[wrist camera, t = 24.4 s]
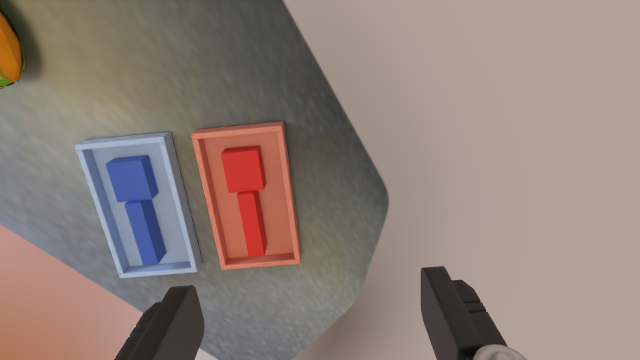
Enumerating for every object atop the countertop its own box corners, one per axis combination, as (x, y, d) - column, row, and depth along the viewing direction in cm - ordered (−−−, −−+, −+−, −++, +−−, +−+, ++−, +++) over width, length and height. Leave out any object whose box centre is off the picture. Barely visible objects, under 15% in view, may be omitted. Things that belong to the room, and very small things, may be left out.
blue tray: (85, 139, 40) (74, 144, 38) (170, 131, 40) (163, 136, 38) (128, 268, 46) (119, 278, 44) (202, 262, 46) (197, 272, 44)
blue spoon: (175, 252, 44) (167, 263, 42) (143, 254, 45) (134, 266, 42) (148, 155, 40) (138, 162, 38) (113, 158, 40) (101, 165, 38)
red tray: (196, 129, 40) (190, 133, 38) (283, 120, 39) (281, 125, 37) (225, 260, 45) (221, 270, 44) (301, 254, 45) (300, 263, 43)
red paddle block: (276, 244, 44) (273, 255, 42) (243, 246, 44) (239, 258, 42) (260, 145, 40) (256, 151, 37) (224, 148, 40) (219, 155, 38)
